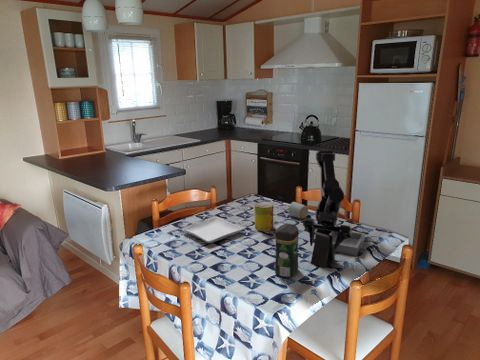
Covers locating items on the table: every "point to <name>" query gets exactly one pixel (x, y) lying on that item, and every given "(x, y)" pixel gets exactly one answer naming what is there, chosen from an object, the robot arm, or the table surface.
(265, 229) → the yellow green jar
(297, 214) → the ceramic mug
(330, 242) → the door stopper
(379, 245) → the table surface
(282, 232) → the coffee jar
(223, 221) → the salad plate
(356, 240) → the box
